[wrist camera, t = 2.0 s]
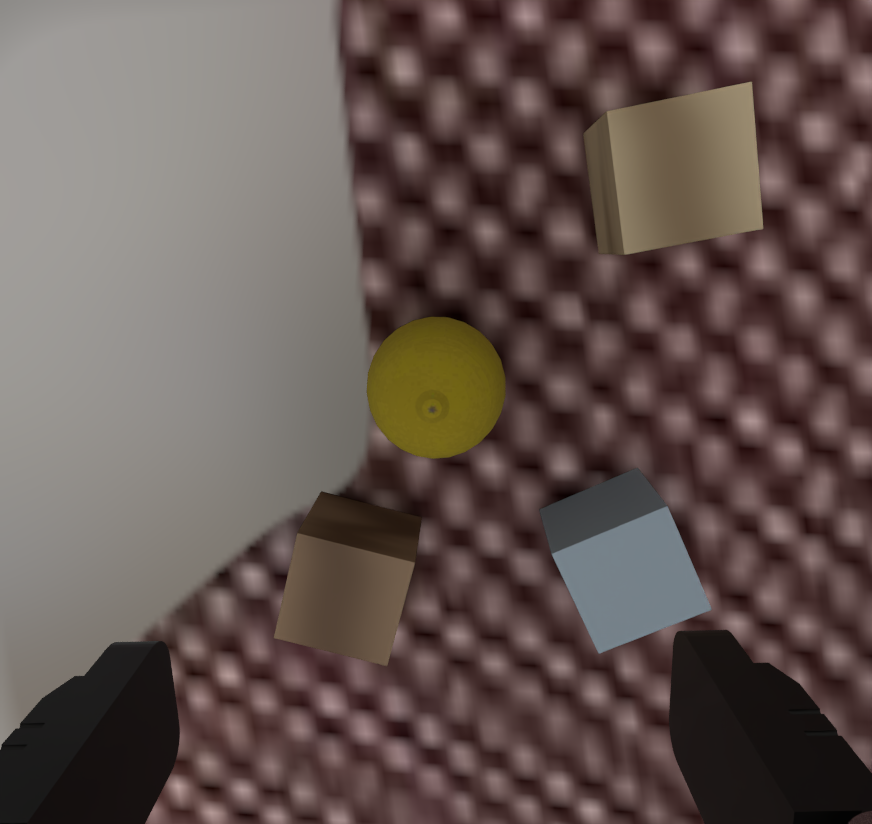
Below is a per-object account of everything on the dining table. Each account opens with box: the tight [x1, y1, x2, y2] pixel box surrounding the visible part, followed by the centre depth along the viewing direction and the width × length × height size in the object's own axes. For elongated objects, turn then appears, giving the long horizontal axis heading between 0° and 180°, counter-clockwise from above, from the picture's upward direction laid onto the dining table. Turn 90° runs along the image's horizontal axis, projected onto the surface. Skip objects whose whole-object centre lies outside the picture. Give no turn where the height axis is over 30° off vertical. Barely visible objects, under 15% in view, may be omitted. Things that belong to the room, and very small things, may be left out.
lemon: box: [367, 317, 505, 459], centre depth 28 cm, size 6×6×8 cm
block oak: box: [583, 82, 763, 255], centre depth 27 cm, size 5×5×5 cm
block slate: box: [539, 468, 712, 653], centre depth 31 cm, size 5×5×5 cm
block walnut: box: [274, 491, 422, 666], centre depth 32 cm, size 5×5×5 cm
